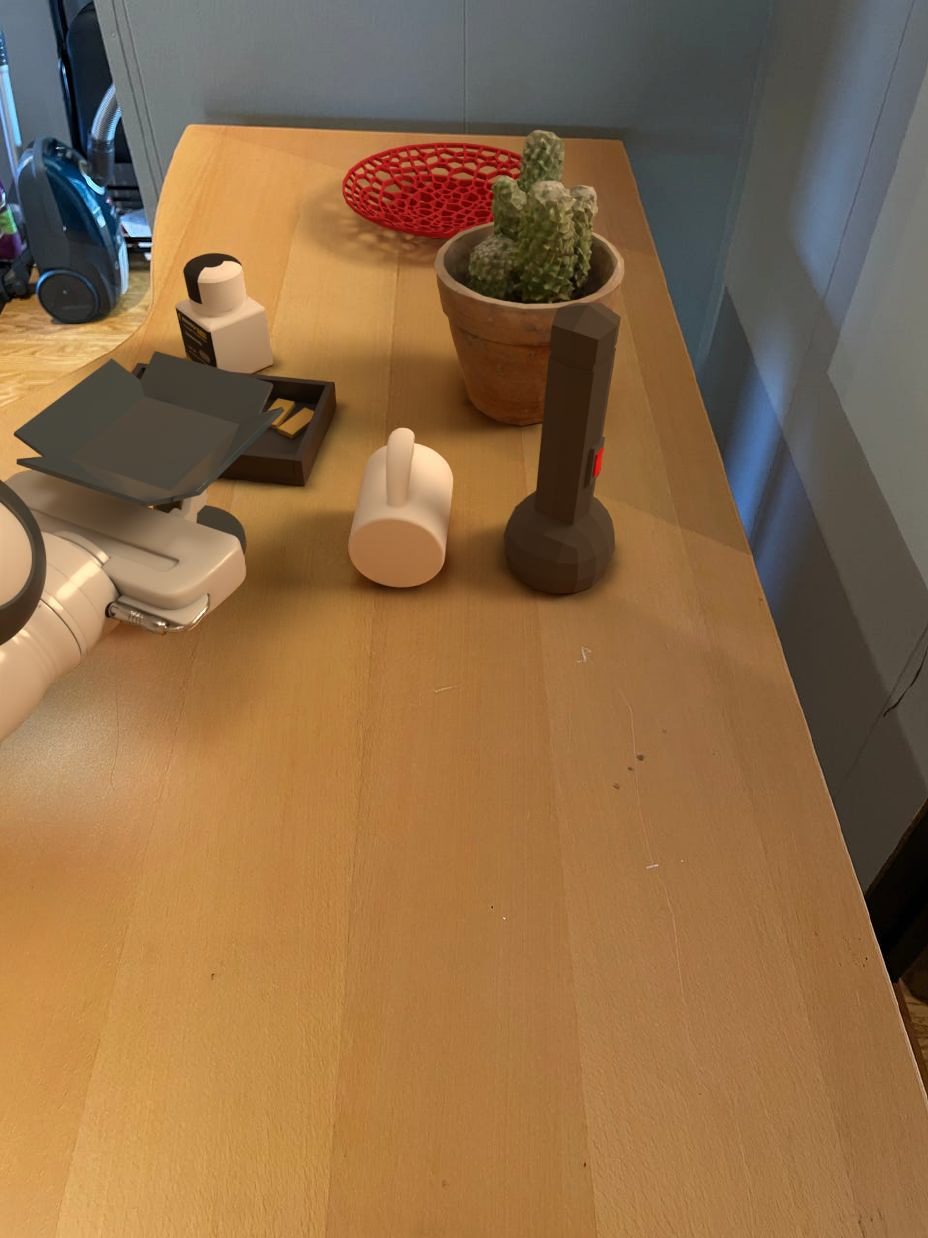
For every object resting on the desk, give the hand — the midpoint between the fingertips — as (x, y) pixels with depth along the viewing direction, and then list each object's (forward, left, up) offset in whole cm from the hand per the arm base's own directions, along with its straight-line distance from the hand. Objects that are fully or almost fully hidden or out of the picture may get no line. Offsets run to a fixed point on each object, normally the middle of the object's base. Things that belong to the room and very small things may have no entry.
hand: (175, 481), depth 74 cm
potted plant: (+25, +33, -11) cm, 43 cm away
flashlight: (+31, +8, -11) cm, 34 cm away
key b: (+3, +23, -10) cm, 25 cm away
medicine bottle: (-8, +34, -11) cm, 37 cm away
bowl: (+11, +74, -11) cm, 76 cm away
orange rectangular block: (0, +24, -10) cm, 26 cm away
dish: (0, -1, -7) cm, 7 cm away
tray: (-5, +21, -11) cm, 25 cm away
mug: (+17, +7, -11) cm, 21 cm away
